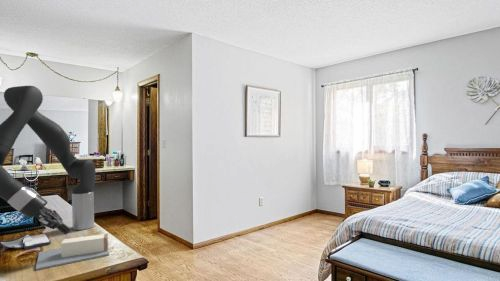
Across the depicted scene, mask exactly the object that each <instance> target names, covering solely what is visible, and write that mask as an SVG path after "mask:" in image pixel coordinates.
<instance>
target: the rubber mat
mask: <svg viewBox="0 0 500 281" xmlns="http://www.w3.org/2000/svg"><path fill="white" fill-rule="evenodd" d="M109 255H110V253H109V250H108V251H101V252H95V253H88V254H81V255H74V256H67V257H61V247H60V248H54V249H47V250H43V251H39V252H38V256H37V261H36V265H35V271H39V270H44V269H49V268H54V267H58V266H64V265H68V264H73V263H74V264H75V263H78V262H84V261H88V260H93V259H97V258H103V257H107V256H109Z"/></svg>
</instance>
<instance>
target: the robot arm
mask: <svg viewBox="0 0 500 281" xmlns="http://www.w3.org/2000/svg"><path fill="white" fill-rule="evenodd" d="M43 97H44V96H43V93H42V91H41V90H40V88H38V87H37V86H35V85H20V86H19V85H18V86H11V87H8V88H6V89H5V90H4V93H3V98H4V101H5V103H6V105H7V106H8V107H9V109H11V110H12V111H13V112H12V113H11V114H10V115H9V116H8V117H7V118H6V119H5V120H4V121H3V122H1V124H0V198H1V199H2V200H3V201H5V202H7V204H9V205H10V206H11V207H12V208H14V210H16V211H18V212H19V213H20V214H22V215H23V216H24V217H26V218H27V219H32V218H33V217H36V218H37V219H38V221H39V222H40V223H39V225H40V226H44V227H46V228H48V229H52V230H55V229H56V230H58V231H60V232H61V233H62V234H63V235H68V233H70V231H71V230H75V231H82V230H84V231H85V230H88V229H91V228H93V227H94V226H95V207H94V206H95V204H94V203H95V202H94V201H95V196H94V188H95V185H96V164H95V162H94V161H93V160H91V159H79V158H77V157H76V156H75V155H74V153H73V152H72V151H71V140H70V137H69V135H68V134H67V132H65V130H64V128H63V127H62V126H61V125H59V124H58V123H56V122H55V121H54V120H53V119H50V118H48V117H47V116H45V115H44V114H42V113H41V112H39V111H38V109H39V108H40V107H41V105H42V104H43V101H44V100H43V99H44V98H43ZM26 125H28V126H29V127H30V129H31V130H32V131H33V132H34V133H35V134H36V135H37V136H38V138H39V139H40V140H41V141H42V144H44V145H45V146H46V147H47V149H48V150H49V151H50V153H52V154H53V156H55V158H56V159H57V160H58V161H59V162H60V164H61V166H62V167H63V169H64V170H65V172H66V173H67V175H68V176H69V177H71V178H73V179H79V183H78V184H77V185H75V186H73V187H72V188H71V214H72V218H71V219H72V224H71V226H72V229H71V227H69V226H68V225H67V224H65V222H64V221H63V218H62V217H61V216H60V214H59V213H58V212H57V211H56V210H55V209H53V210H52V209H51V208H49V207H46V205H47V204H48V201H47V200H46V199H45V198H43V197H42V196H41V195H39V194H38V193H36V192H35V191H34V190H33V189H31V188H29V187H27V186H26V185H25V184H23V183H22V182H20V181H19V180H17V179H16V178H14V176H12V174H11V173H10V172H9V171H8V170H6V169H5V168H4V167H3V166H4V164H5V161H6V159H7V157H8V155H9V154H10V153H11V151H12V149H13V147H14V145H15V143H16V140H17V139H18V137H19V135H20V134H21V133H22V130H23V129H24V128H25V127H26Z"/></svg>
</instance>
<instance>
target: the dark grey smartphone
mask: <svg viewBox="0 0 500 281" xmlns="http://www.w3.org/2000/svg"><path fill="white" fill-rule="evenodd" d="M30 237H31V238H33V240H32V241H31V242H24V246H23V248H24V250H32V249H36V248H41V247H47V246H50V245H51V242H52V241H51V239H50V238H49V237H48V235H47V234H46V233H40V234H35V235H30Z"/></svg>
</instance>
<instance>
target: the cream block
mask: <svg viewBox="0 0 500 281" xmlns="http://www.w3.org/2000/svg"><path fill="white" fill-rule="evenodd" d="M60 248H61V257H67V256H74V255H81V254H88V253H95V252H101V251H108V252H109V233H103V234H102V233H101V234H93V235H86V236H79V237H71V238H70V237H69V238H64V239H63V240H62V242H61V243H60Z"/></svg>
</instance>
